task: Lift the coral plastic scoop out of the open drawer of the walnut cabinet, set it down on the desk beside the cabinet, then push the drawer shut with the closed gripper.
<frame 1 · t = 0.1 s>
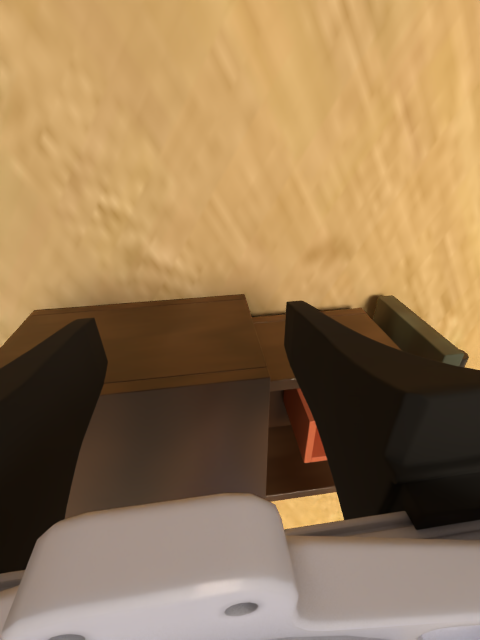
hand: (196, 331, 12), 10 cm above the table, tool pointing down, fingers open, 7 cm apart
scoop: (309, 380, 25), point 2 cm above the table, touching drawer
drawer: (340, 400, 23), point 5 cm above the table, slide at 10.0 cm, touching scoop
cabinet: (158, 379, 26), on the table
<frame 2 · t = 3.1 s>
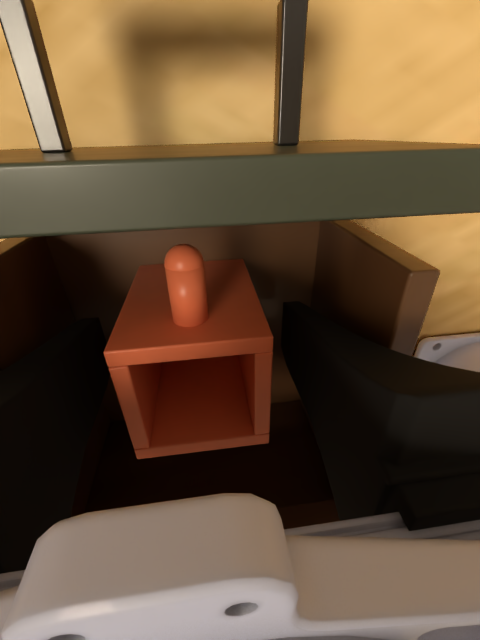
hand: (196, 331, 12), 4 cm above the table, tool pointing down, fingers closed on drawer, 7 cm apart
scoop: (196, 306, 14), point 2 cm above the table, touching drawer
drawer: (193, 301, 11), point 5 cm above the table, slide at 10.0 cm, touching gripper, scoop
cabinet: (213, 446, 22), on the table
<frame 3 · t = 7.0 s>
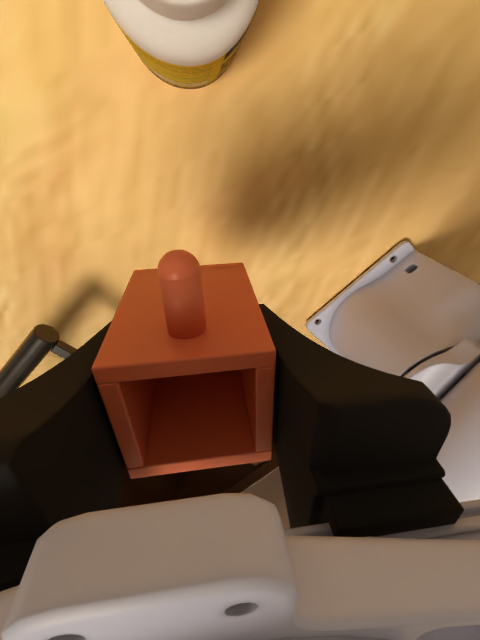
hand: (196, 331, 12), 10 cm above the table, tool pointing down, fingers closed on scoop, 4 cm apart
scoop: (194, 312, 13), point 9 cm above the table, touching gripper
supplement bottle: (185, 22, 15), on the table
drawer: (132, 426, 22), point 5 cm above the table, slide at 10.0 cm
cabinet: (254, 446, 32), on the table
when the fingers open (1 cm above the table, at t = 10.2 s): scoop stays where it is, on the table.
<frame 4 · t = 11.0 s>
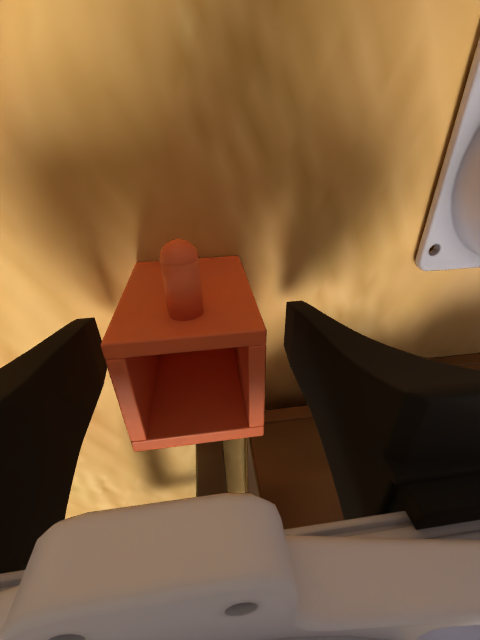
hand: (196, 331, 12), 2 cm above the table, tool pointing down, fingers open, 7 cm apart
scoop: (193, 303, 14), on the table
drawer: (293, 533, 17), point 5 cm above the table, slide at 10.0 cm
cabinet: (466, 432, 22), on the table
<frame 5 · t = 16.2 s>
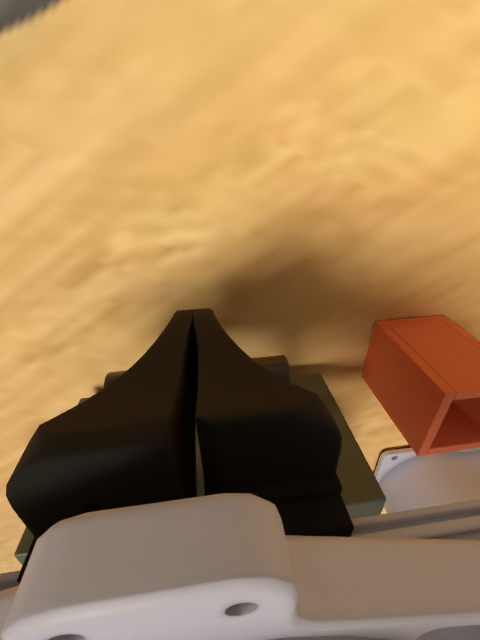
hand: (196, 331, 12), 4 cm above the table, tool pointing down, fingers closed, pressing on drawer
scoop: (400, 346, 19), on the table
drawer: (214, 495, 17), point 5 cm above the table, slide at 9.0 cm, touching gripper
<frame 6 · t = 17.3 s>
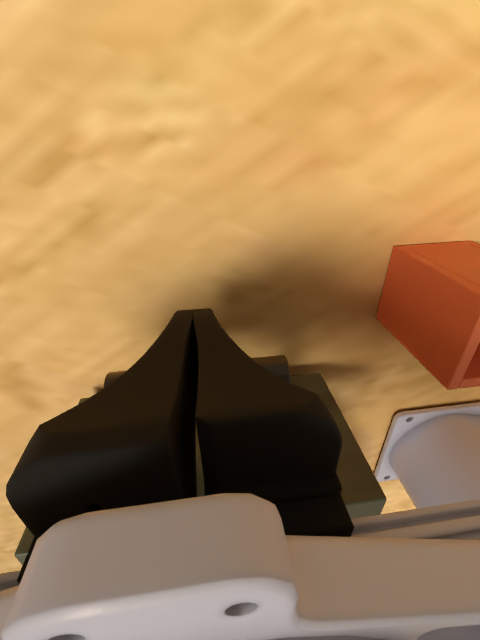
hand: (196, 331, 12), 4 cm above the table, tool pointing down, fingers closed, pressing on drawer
scoop: (420, 281, 17), on the table
drawer: (214, 495, 17), point 5 cm above the table, slide at 4.6 cm, touching gripper
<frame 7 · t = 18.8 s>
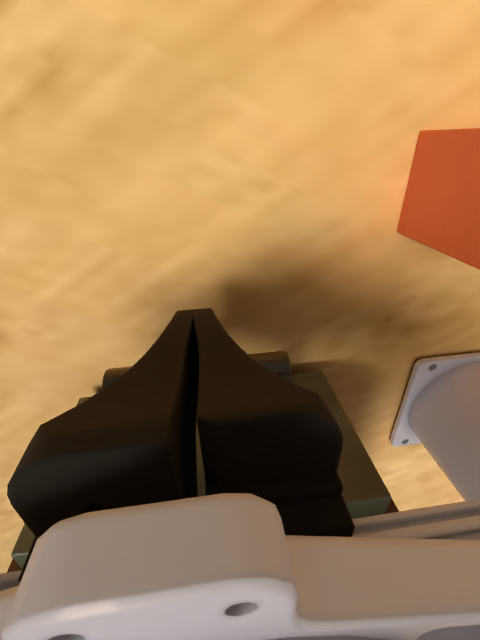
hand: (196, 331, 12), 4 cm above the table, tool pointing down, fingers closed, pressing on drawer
scoop: (450, 183, 14), on the table
drawer: (215, 496, 16), point 5 cm above the table, slide at 0.0 cm, touching cabinet, gripper
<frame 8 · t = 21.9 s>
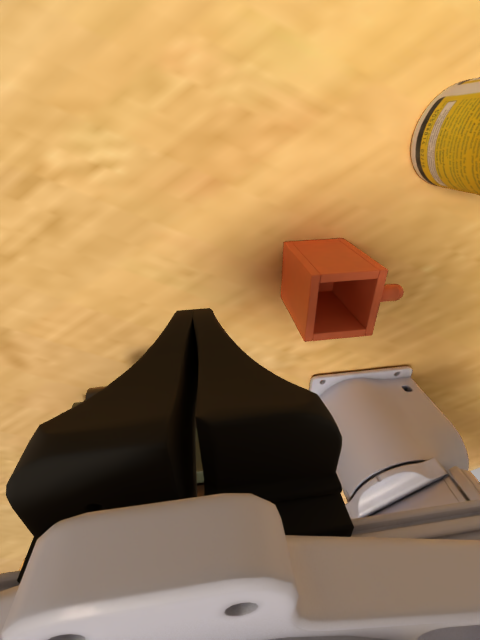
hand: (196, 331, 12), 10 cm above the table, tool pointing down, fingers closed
scoop: (310, 268, 22), on the table
supplement bottle: (448, 136, 19), on the table
drawer: (164, 468, 24), point 5 cm above the table, slide at 0.0 cm
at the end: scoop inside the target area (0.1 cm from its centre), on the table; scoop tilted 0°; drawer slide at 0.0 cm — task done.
